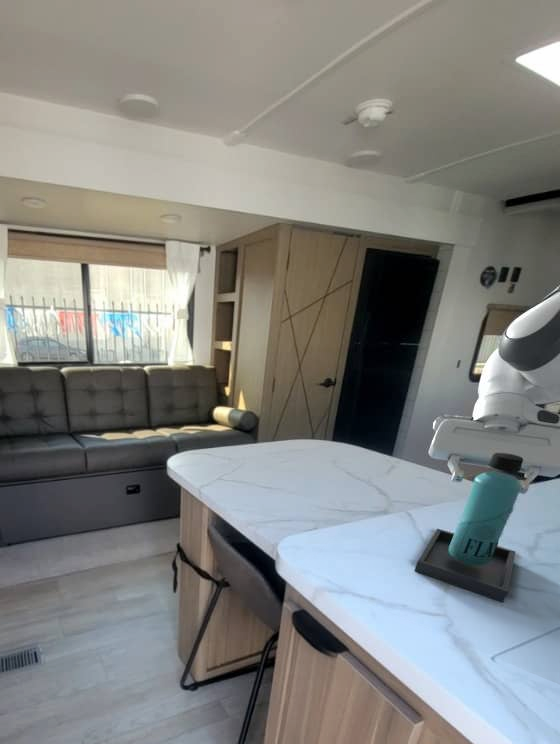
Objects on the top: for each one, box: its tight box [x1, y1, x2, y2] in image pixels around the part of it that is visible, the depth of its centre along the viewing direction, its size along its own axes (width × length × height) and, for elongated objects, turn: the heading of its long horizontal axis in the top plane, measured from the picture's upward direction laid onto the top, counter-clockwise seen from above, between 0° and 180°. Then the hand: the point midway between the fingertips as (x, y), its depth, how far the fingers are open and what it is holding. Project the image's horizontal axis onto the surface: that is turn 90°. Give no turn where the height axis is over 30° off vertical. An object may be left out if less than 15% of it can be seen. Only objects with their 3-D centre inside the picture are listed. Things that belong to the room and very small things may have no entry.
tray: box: [414, 528, 516, 603], centre depth 72 cm, size 17×13×2 cm
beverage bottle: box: [449, 453, 523, 565], centre depth 68 cm, size 6×7×20 cm
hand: (487, 486), depth 72 cm, fingers open, 8 cm apart
